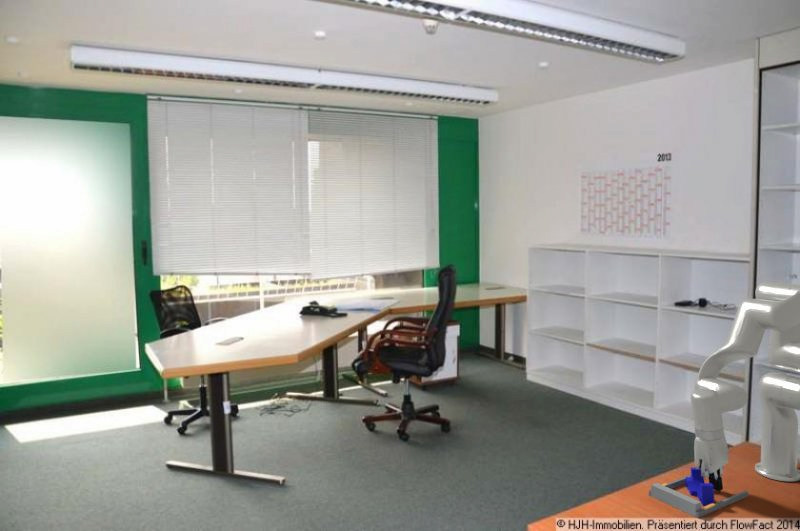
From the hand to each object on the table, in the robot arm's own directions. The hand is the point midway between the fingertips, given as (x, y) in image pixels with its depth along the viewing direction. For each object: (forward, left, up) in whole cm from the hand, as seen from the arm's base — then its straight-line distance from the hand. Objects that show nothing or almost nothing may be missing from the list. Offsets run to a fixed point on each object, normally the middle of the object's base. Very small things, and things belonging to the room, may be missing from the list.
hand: (716, 488), depth 176 cm
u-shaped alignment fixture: (+7, -1, -1) cm, 7 cm away
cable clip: (+7, -1, -1) cm, 7 cm away
